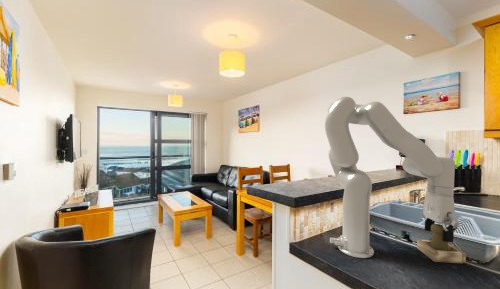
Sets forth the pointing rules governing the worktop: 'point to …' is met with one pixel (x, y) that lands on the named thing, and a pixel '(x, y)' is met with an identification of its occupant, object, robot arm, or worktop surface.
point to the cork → (438, 238)
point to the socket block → (441, 253)
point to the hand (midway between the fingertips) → (437, 235)
